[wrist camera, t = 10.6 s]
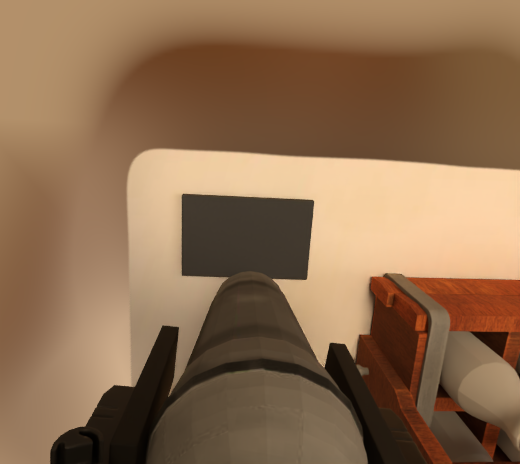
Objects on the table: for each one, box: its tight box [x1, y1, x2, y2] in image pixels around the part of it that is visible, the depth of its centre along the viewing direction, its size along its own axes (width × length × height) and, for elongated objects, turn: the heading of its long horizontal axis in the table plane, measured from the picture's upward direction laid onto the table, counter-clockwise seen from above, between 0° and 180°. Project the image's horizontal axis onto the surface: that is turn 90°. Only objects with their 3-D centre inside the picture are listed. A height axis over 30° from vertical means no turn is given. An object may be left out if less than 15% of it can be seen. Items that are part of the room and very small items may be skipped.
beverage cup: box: [145, 271, 368, 464], centre depth 13 cm, size 7×7×20 cm
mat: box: [182, 194, 314, 280], centre depth 37 cm, size 14×9×1 cm, turn 87°
